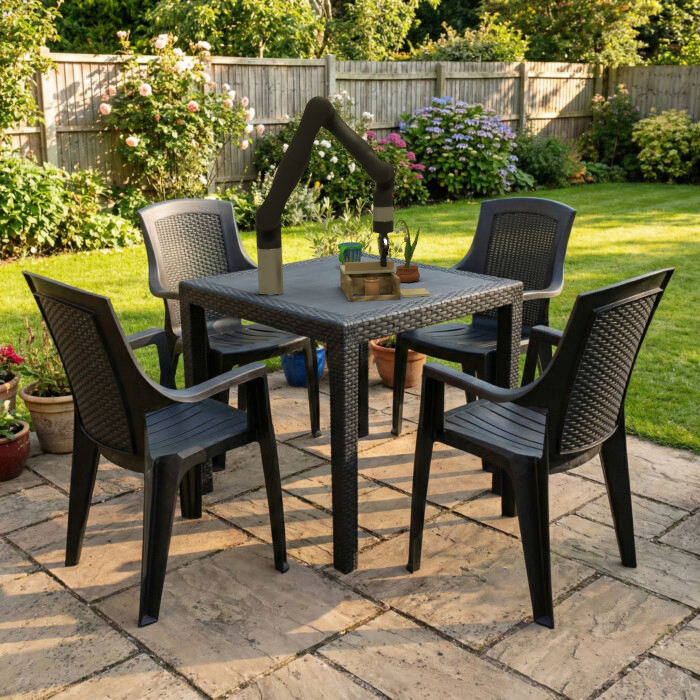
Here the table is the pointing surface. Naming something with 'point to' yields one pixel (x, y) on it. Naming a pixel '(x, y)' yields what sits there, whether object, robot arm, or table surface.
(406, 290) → the stone tile
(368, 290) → the clay pot
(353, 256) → the snack cup
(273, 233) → the robot arm
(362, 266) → the lid
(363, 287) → the open wooden frame
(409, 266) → the potted flower
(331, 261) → the table surface
